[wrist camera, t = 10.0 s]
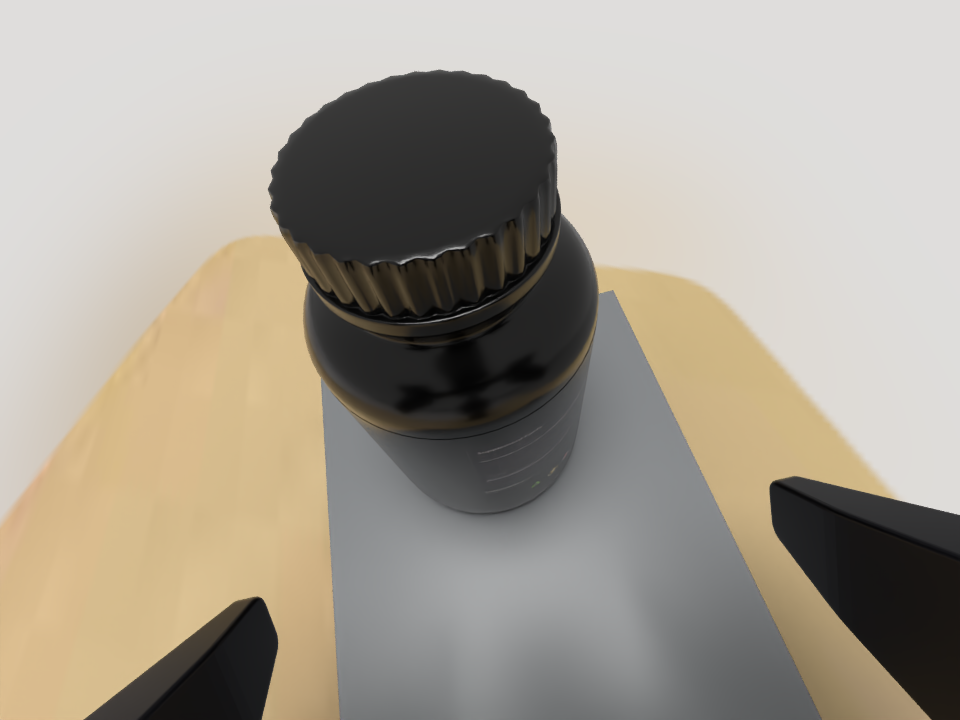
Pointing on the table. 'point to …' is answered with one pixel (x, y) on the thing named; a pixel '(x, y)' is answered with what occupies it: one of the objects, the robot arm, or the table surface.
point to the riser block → (553, 579)
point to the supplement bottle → (443, 280)
